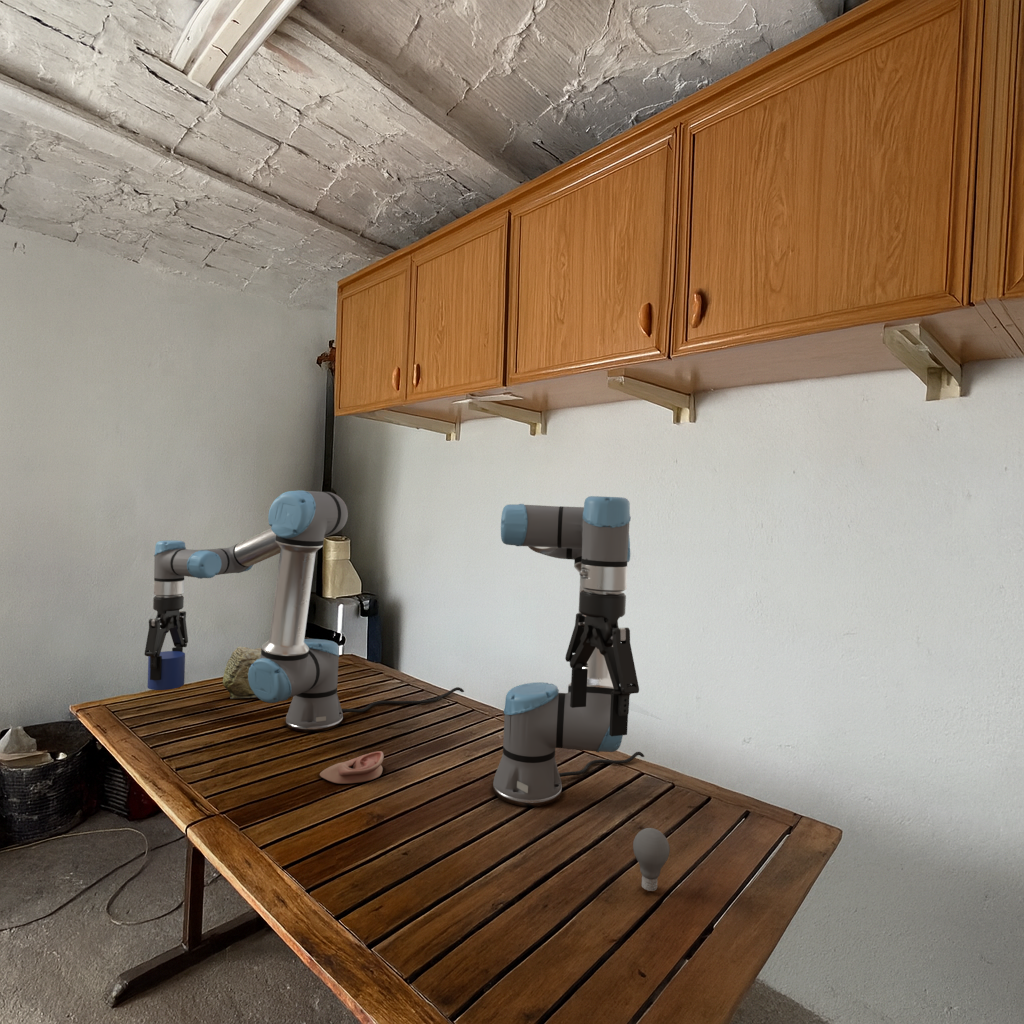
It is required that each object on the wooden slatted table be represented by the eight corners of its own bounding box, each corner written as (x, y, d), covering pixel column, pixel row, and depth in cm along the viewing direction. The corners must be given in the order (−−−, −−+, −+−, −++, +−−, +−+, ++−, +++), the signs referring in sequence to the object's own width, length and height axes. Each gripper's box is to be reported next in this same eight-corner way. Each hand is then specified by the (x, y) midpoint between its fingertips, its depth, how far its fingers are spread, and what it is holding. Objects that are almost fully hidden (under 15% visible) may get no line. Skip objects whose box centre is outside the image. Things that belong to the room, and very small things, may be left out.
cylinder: (153, 681, 182) (154, 651, 182) (188, 680, 184) (189, 650, 184) (142, 690, 173) (143, 659, 173) (179, 689, 175) (180, 658, 175)
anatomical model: (313, 762, 141) (337, 743, 152) (312, 780, 141) (337, 759, 152) (369, 770, 138) (389, 750, 149) (368, 788, 138) (389, 767, 149)
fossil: (218, 695, 195) (220, 647, 195) (278, 685, 208) (279, 640, 207) (228, 703, 189) (230, 653, 188) (289, 692, 201) (290, 645, 201)
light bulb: (627, 878, 109) (629, 820, 109) (660, 878, 109) (663, 821, 109) (636, 900, 103) (639, 839, 103) (672, 900, 104) (675, 839, 103)
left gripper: (178, 589, 189) (176, 664, 190) (130, 600, 168) (127, 685, 168) (203, 590, 189) (200, 665, 189) (157, 602, 167) (155, 686, 168)
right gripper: (550, 580, 114) (545, 698, 114) (622, 604, 90) (615, 751, 91) (587, 580, 116) (582, 695, 117) (667, 603, 93) (660, 746, 93)
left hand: (166, 674), depth 179 cm, fingers closed on cylinder, 9 cm apart
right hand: (596, 720), depth 104 cm, fingers open, 13 cm apart
